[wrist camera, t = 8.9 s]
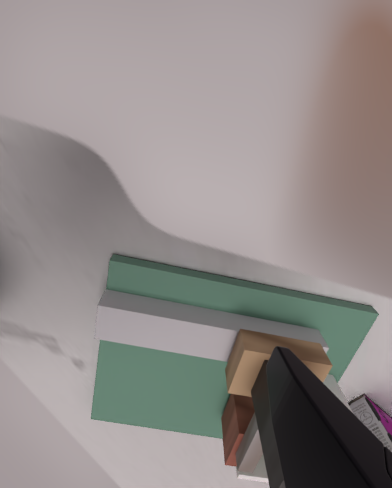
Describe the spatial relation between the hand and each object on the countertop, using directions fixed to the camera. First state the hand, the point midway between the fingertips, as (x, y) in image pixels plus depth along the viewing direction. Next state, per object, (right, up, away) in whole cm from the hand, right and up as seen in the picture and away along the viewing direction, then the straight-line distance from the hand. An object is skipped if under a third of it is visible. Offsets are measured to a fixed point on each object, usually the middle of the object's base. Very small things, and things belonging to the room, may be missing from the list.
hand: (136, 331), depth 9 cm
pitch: (+4, -8, +17) cm, 19 cm away
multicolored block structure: (+6, -8, +15) cm, 19 cm away
